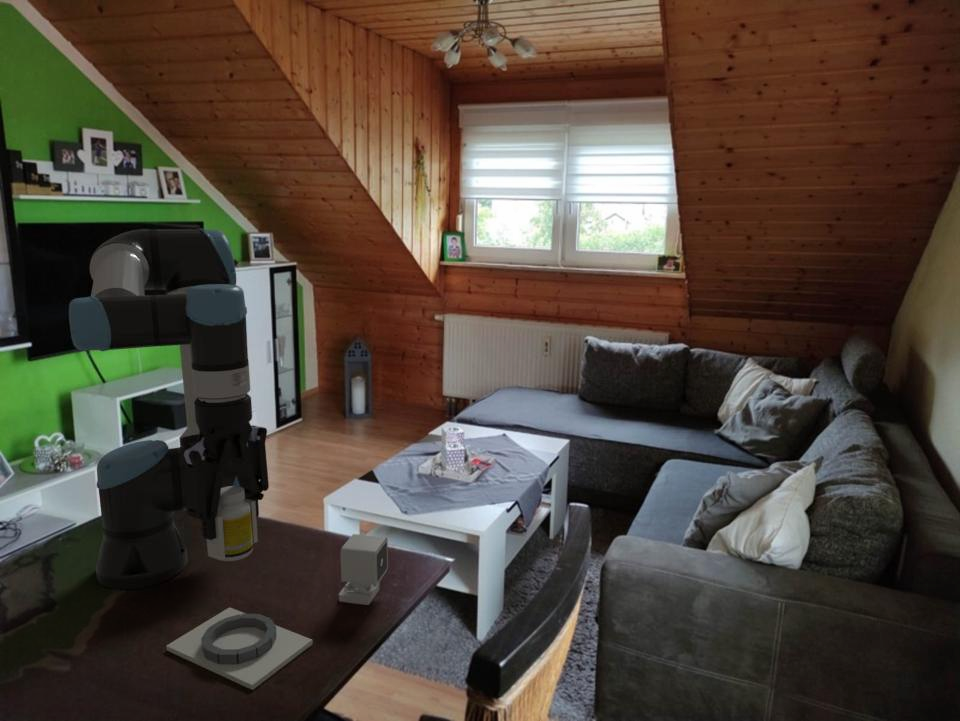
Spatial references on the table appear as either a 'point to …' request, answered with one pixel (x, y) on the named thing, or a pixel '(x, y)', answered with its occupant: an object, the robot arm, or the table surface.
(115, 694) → the table surface
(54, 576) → the table surface
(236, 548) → the supplement bottle
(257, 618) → the socket board
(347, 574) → the security camera
